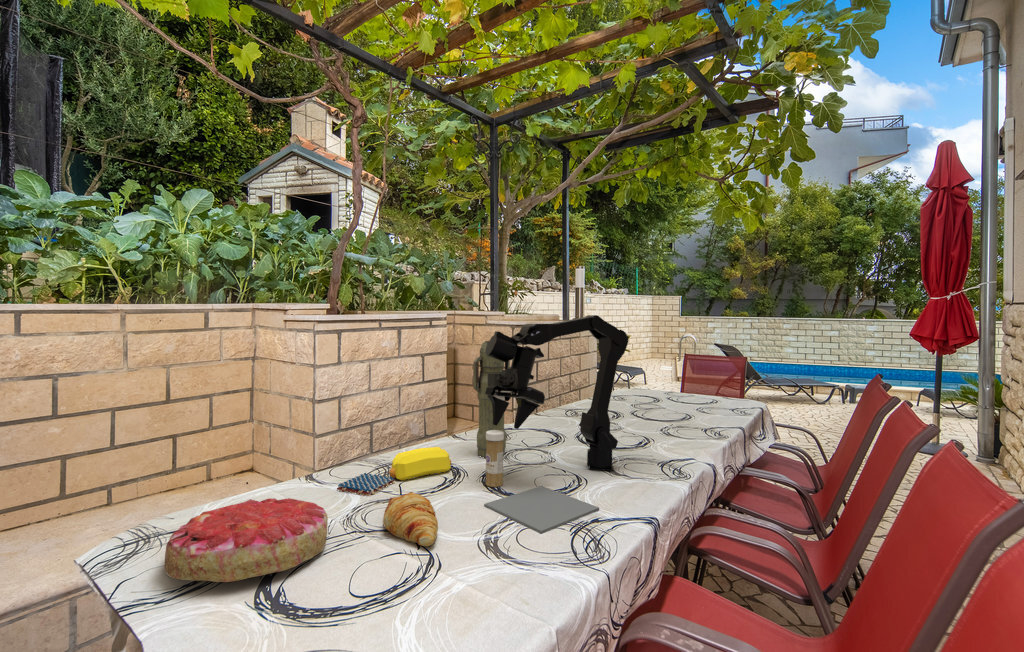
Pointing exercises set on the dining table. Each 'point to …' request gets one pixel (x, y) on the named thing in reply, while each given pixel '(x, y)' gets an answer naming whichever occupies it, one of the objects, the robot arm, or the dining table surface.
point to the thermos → (485, 405)
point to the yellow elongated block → (420, 463)
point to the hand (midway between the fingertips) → (505, 426)
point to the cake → (246, 540)
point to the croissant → (411, 519)
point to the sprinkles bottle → (494, 458)
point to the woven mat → (365, 484)
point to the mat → (541, 508)
